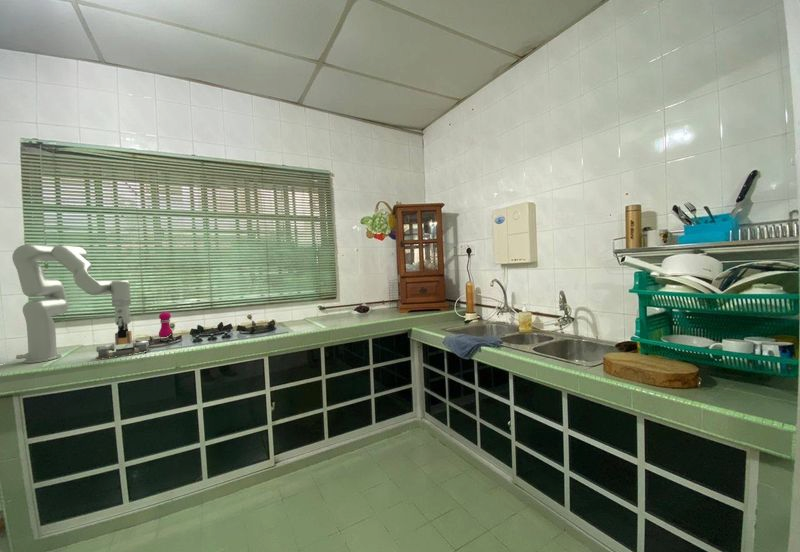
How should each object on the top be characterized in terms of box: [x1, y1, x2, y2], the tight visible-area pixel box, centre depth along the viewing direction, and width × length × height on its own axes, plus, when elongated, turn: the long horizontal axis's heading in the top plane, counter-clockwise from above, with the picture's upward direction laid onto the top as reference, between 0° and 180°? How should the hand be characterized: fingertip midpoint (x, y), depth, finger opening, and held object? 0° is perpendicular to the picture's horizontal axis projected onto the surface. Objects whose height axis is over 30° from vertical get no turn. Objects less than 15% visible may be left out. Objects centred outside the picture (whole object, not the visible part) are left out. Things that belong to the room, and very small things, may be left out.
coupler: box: [114, 330, 133, 346], centre depth 164 cm, size 6×5×6 cm
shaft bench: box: [95, 340, 150, 360], centre depth 164 cm, size 21×10×6 cm, turn 124°
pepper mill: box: [158, 309, 174, 338], centre depth 195 cm, size 7×7×20 cm
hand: (123, 336), depth 164 cm, fingers closed on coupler, 4 cm apart
